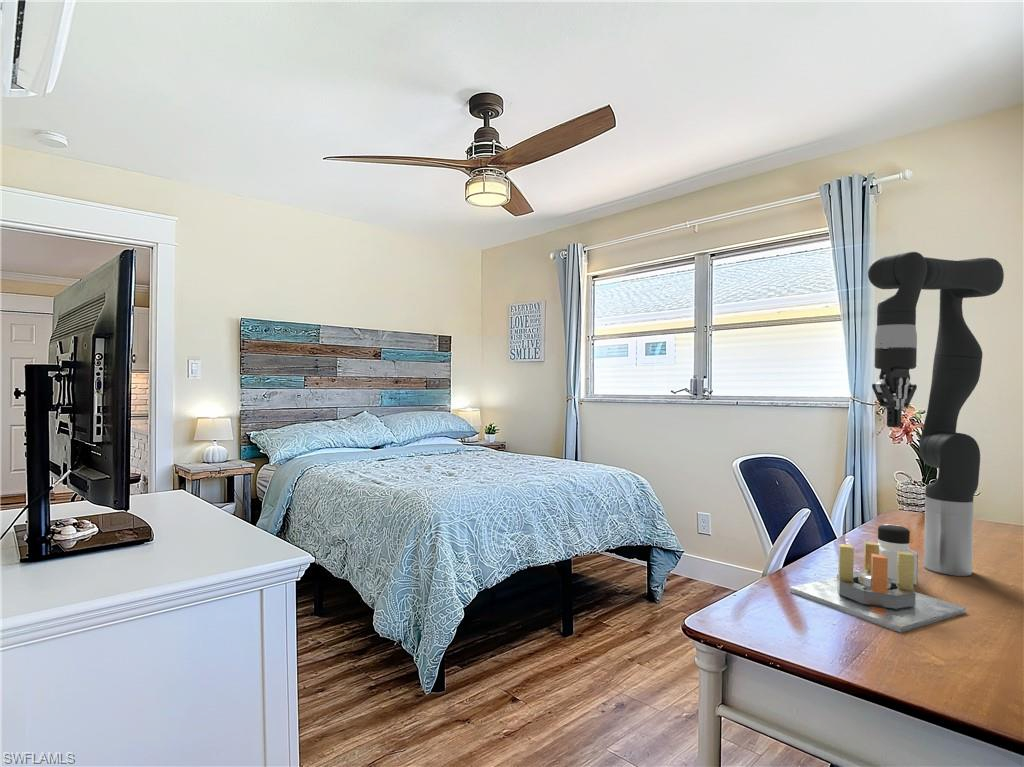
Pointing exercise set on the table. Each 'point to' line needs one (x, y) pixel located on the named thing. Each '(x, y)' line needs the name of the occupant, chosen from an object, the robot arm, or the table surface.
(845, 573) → the octagonal frame
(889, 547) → the medicine bottle
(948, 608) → the base plate
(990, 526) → the table surface
